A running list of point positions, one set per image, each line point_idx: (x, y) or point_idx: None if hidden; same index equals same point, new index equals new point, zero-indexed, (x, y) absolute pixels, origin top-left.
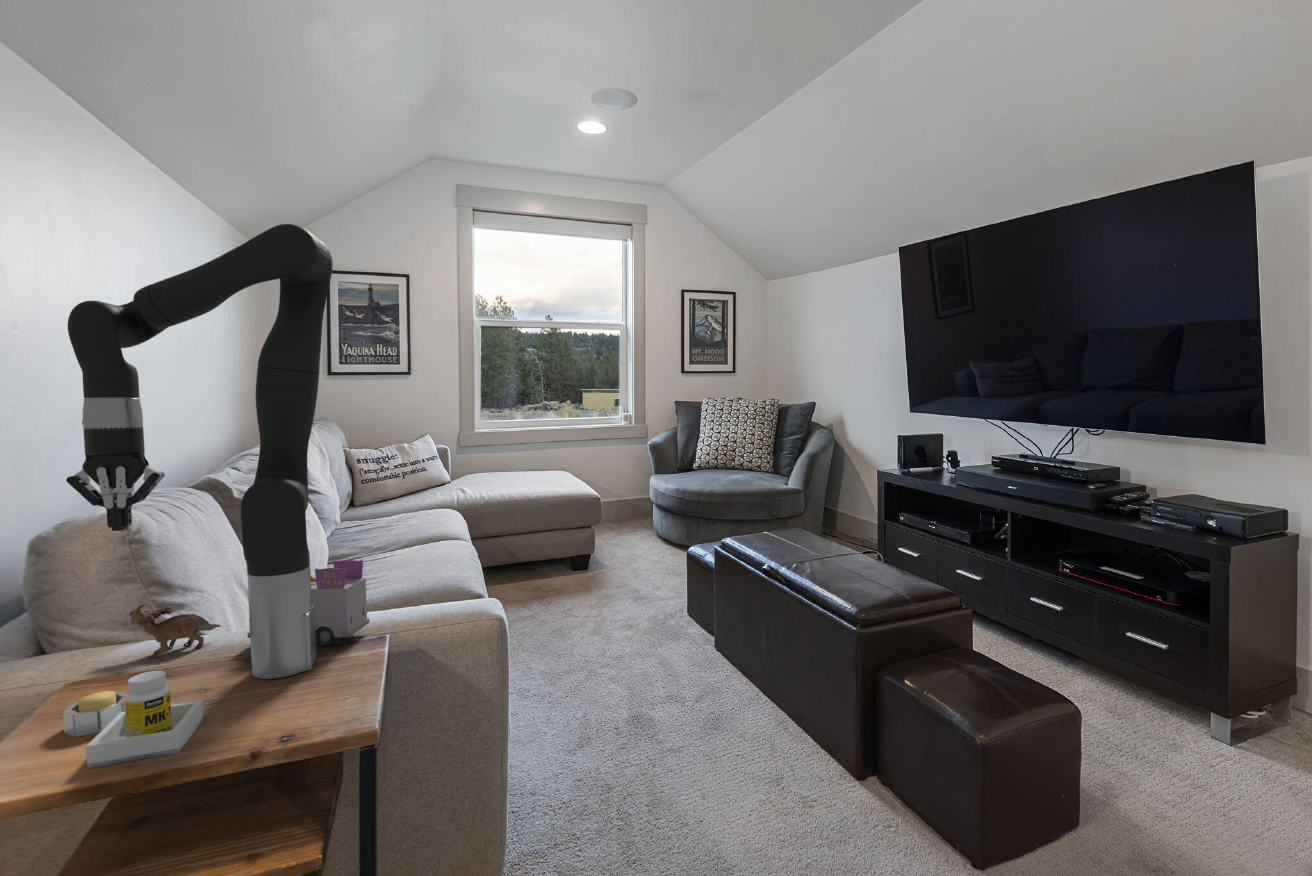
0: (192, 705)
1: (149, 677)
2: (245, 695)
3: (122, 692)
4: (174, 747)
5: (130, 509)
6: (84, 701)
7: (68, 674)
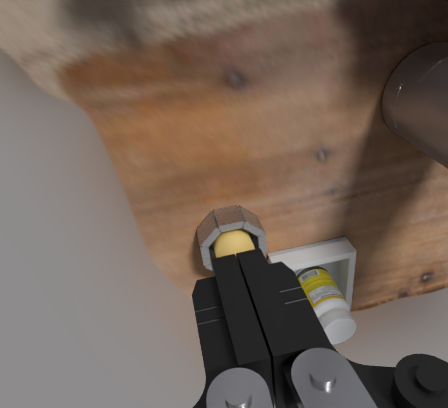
0: (348, 261)
1: (343, 334)
2: (380, 181)
3: (249, 224)
4: None
5: (327, 346)
6: None
7: (12, 14)
